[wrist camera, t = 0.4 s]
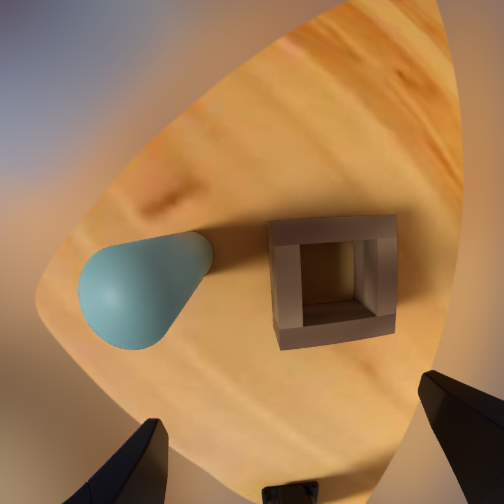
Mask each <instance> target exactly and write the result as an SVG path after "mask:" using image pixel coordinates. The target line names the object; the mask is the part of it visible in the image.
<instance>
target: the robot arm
mask: <svg viewBox="0 0 504 504" xmlns="http://www.w3.org/2000/svg"><path fill="white" fill-rule="evenodd" d="M418 395H419V398H420V400H421V403H422V405H423V408H424V410H425V413H426V415H427V418H428V421H429V423H430V425H431V428H432V430H433V432H434V434H435V435H436V437H437V439H438V441H439V443H440V445H441V447H442V449H443V451H444V453H445V455H446V457H447V459H448V461H449V463H450V465H451V467H452V470H453V472H454V474H455V476H456V478H457V480H458V482H459V484H460V487H461V489H462V491H463V493H464V496H465V498H466V500H467V502H468V504H504V401H503V400H501V399H498V398H496V397H494V396H492V395H489V394H487V393H485V392H482V391H480V390H478V389H475V388H473V387H471V386H468V385H466V384H464V383H461V382H459V381H457V380H455V379H452V378H450V377H448V376H446V375H443V374H441V373H439V372H437V371H435V370H430V371H428V372H425V373H423V374H422V377H421V380H420V384H419V387H418ZM168 441H169V438H168V433H167V431H166V429H165V427H164V425H163V423H162V421H161V420H160V419H158V418H149V419H147V420H146V421H145V422H144V423H143V424H142V425H141V426H140V427H139V428H138V430H136V431H135V432H134V434H133V435H132V436H131V437H130V438H129V439H128V440H127V441H126V442H125V443H124V444H123V445H122V446H121V447H120V448H119V449H118V450H117V451H116V452H115V453H114V455H112V457H111V458H110V459H109V460H108V461H107V462H106V463H105V464H104V465H103V466H102V467H101V468H100V469H99V470H98V471H97V472H96V473H95V474H94V475H93V476H92V477H91V478H90V479H89V480H88V482H86V483H85V484H84V485H83V486H82V487H81V488H80V489H79V490H77V491H76V492H75V493H74V494H73V495H72V496H71V497H70V498H68V499H67V500H66V501H65V502H63V503H62V504H164V500H165V492H166V485H167V477H168ZM318 487H319V485H318V482H310V483H304V484H297V485H290V486H281V487H271V488H264V489H262V500H263V504H316V502H317V494H318Z"/></svg>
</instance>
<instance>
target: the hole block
mask: <svg viewBox="0 0 504 504" xmlns="http://www.w3.org/2000/svg"><path fill="white" fill-rule="evenodd" d="M267 233H268V248H269V263H270V278H271V294H272V311H273V327H274V330H275V334H276V337H277V341H278V344H279V348H280V351H281V350H291V349H299V348H308V347H315V346H323V345H330V344H337V343H343V342H349V341H355V340H361V339H367V338H372V337H378V336H383V335H388V334H393V333H395V320H396V303H397V225H396V215H367V216H345V217H326V218H308V219H291V220H276V221H267ZM341 241H353V250H354V300H349V301H341V302H333V303H325V304H316V305H306V306H302V285H301V263H300V244H313V243H327V242H341Z"/></svg>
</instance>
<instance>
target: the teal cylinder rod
mask: <svg viewBox="0 0 504 504" xmlns="http://www.w3.org/2000/svg"><path fill="white" fill-rule="evenodd" d="M213 258H214V253H213V248H212V246H211V244H210V242H209V241H208V239H207V238H206V237H204V236H203V235H201V234H200V233H197V232H192V231H187V232H182V233H176V234H171V235H165V236H160V237H155V238H150V239H145V240H140V241H134V242H129V243H124V244H119V245H115V246H110V247H107V248H104V249H102V250H100V251H98V252H97V253H95V254H94V255H93V256H92V257H91V258H90V259H89V260H88V261H87V263H86V264H85V266H84V268H83V270H82V272H81V275H80V279H79V286H78V296H79V303H80V307H81V310H82V313H83V315H84V317H85V319H86V321H87V323H88V324H89V326H90V327H91V328H92V330H93V331H94V332H95V333H96V334H97V335H98V336H99V337H100V338H102V339H103V340H104V341H106V342H107V343H109V344H111V345H113V346H115V347H118V348H121V349H126V350H140V349H144V348H147V347H150V346H152V345H154V344H155V343H157V342H158V341H159V340H160V339H161V338H162V337H163V336H164V335H165V334H166V332H167V331H168V329H169V328H170V326H171V325H172V323H173V322H174V320H175V319H176V317H177V316H178V315H179V313H180V312H181V310H182V309H183V307H184V306H185V304H186V303H187V301H188V300H189V298H190V297H191V295H192V294H193V292H194V291H195V289H196V288H197V287H198V285H199V284H200V282H201V281H202V279H203V278H204V276H205V275H206V273H207V272H208V271H209V269H210V267H211V266H212V263H213Z"/></svg>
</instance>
